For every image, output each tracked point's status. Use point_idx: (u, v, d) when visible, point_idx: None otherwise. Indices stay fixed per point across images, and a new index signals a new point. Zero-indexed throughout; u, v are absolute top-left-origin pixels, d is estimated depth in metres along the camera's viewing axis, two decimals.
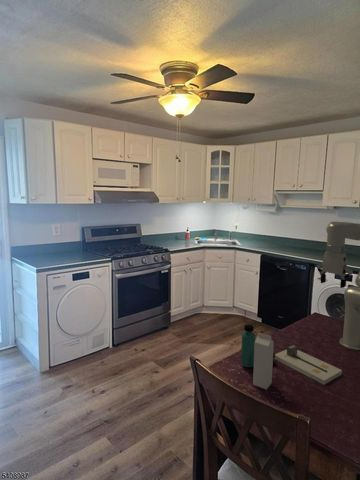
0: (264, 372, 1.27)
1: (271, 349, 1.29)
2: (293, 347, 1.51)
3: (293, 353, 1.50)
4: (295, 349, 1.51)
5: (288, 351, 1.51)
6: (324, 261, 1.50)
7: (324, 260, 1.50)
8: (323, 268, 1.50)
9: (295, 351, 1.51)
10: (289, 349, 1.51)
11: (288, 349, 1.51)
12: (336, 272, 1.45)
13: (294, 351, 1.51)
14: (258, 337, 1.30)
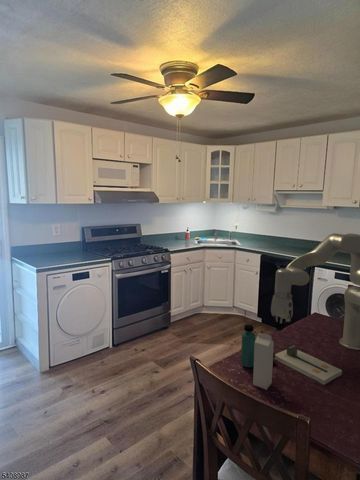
0: (264, 372, 1.27)
1: (271, 349, 1.29)
2: (293, 347, 1.51)
3: (293, 353, 1.50)
4: (295, 349, 1.51)
5: (288, 351, 1.51)
6: (272, 304, 1.57)
7: (272, 303, 1.57)
8: (271, 311, 1.57)
9: (295, 351, 1.51)
10: (289, 349, 1.51)
11: (288, 349, 1.51)
12: (282, 316, 1.52)
13: (294, 351, 1.51)
14: (258, 337, 1.30)
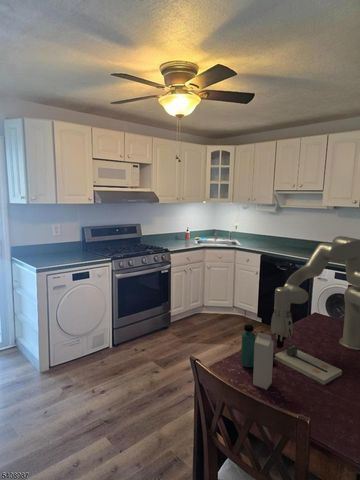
0: (264, 372, 1.27)
1: (271, 349, 1.29)
2: (293, 347, 1.51)
3: (293, 353, 1.50)
4: (295, 349, 1.51)
5: (288, 351, 1.51)
6: (272, 322, 1.58)
7: (272, 321, 1.58)
8: (271, 329, 1.59)
9: (295, 351, 1.51)
10: (289, 349, 1.51)
11: (288, 349, 1.51)
12: (282, 334, 1.53)
13: (294, 351, 1.51)
14: (258, 337, 1.30)
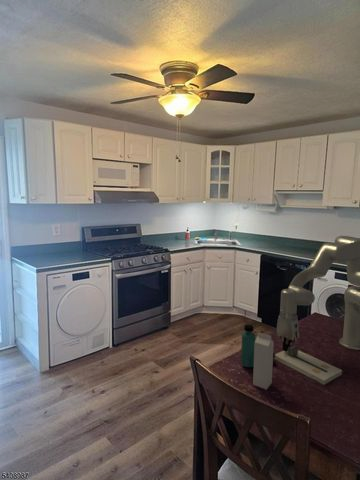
0: (264, 372, 1.27)
1: (271, 349, 1.29)
2: (294, 347, 1.51)
3: (294, 353, 1.50)
4: (296, 349, 1.51)
5: (289, 351, 1.51)
6: (278, 325, 1.55)
7: (278, 324, 1.55)
8: (277, 331, 1.56)
9: (296, 351, 1.51)
10: (290, 349, 1.50)
11: (289, 349, 1.51)
12: (288, 337, 1.51)
13: (295, 352, 1.50)
14: (258, 337, 1.30)
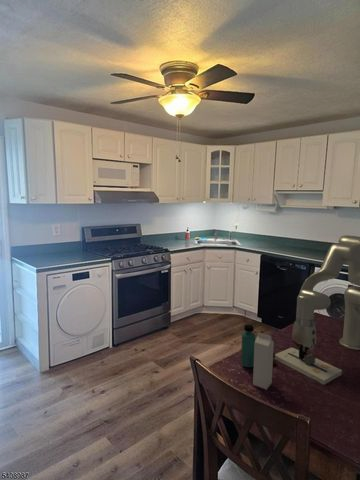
0: (264, 372, 1.27)
1: (271, 349, 1.29)
2: (311, 355, 1.44)
3: (311, 362, 1.43)
4: (313, 357, 1.43)
5: (306, 359, 1.44)
6: (294, 331, 1.48)
7: (294, 330, 1.48)
8: (293, 338, 1.48)
9: (313, 359, 1.43)
10: (307, 357, 1.43)
11: (306, 357, 1.43)
12: (305, 344, 1.43)
13: (312, 360, 1.43)
14: (258, 337, 1.30)
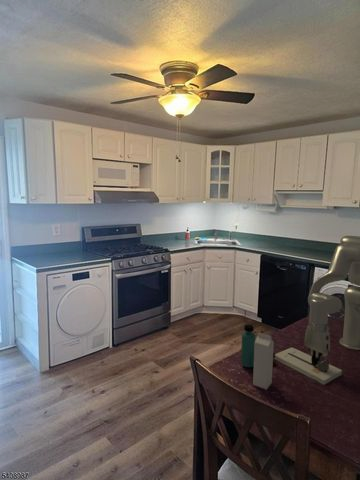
0: (264, 372, 1.27)
1: (271, 349, 1.29)
2: (324, 361, 1.38)
3: (325, 368, 1.37)
4: (327, 364, 1.38)
5: (319, 366, 1.38)
6: (306, 336, 1.42)
7: (306, 335, 1.42)
8: (305, 343, 1.43)
9: (327, 366, 1.38)
10: (320, 364, 1.38)
11: (319, 364, 1.38)
12: (318, 350, 1.38)
13: (325, 366, 1.37)
14: (258, 337, 1.30)
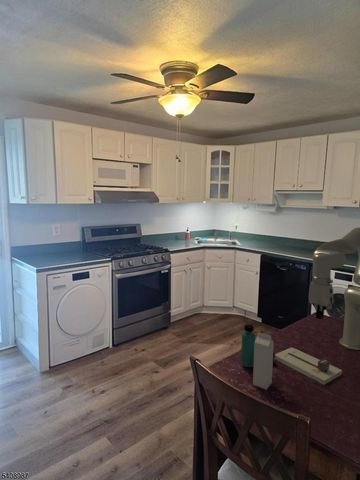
0: (264, 372, 1.27)
1: (271, 349, 1.29)
2: (325, 362, 1.38)
3: (325, 368, 1.37)
4: (327, 364, 1.38)
5: (319, 366, 1.38)
6: (310, 292, 1.46)
7: (310, 291, 1.46)
8: (310, 298, 1.47)
9: (327, 366, 1.38)
10: (321, 364, 1.38)
11: (319, 364, 1.38)
12: (322, 304, 1.42)
13: (326, 366, 1.37)
14: (258, 337, 1.30)
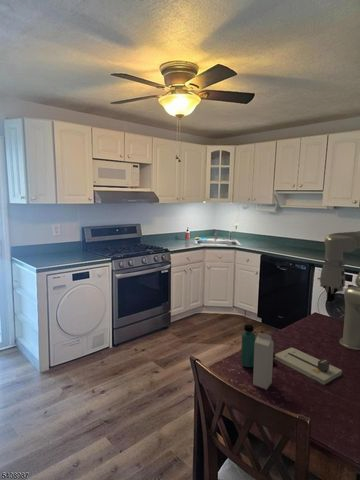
0: (264, 372, 1.27)
1: (271, 349, 1.29)
2: (325, 362, 1.38)
3: (325, 368, 1.37)
4: (327, 364, 1.38)
5: (319, 366, 1.38)
6: (322, 274, 1.50)
7: (322, 273, 1.50)
8: (321, 281, 1.51)
9: (327, 366, 1.38)
10: (321, 364, 1.38)
11: (319, 364, 1.38)
12: (334, 286, 1.45)
13: (326, 366, 1.37)
14: (258, 337, 1.30)
